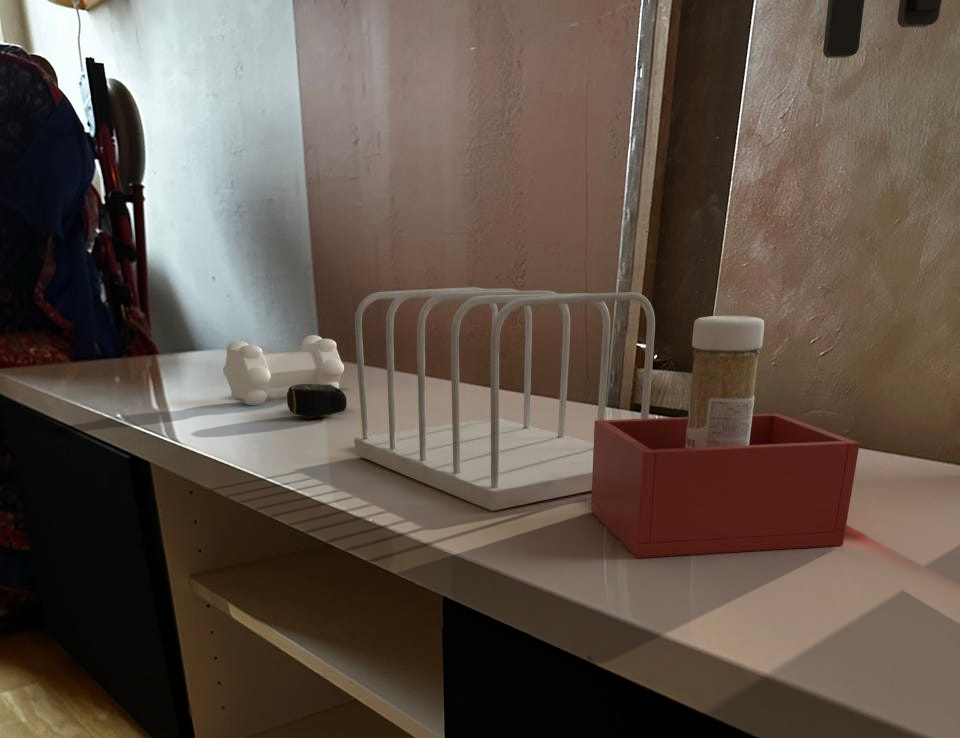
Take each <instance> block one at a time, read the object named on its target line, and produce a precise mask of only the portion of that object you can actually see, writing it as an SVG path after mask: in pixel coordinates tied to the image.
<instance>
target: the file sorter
mask: <svg viewBox="0 0 960 738" xmlns="http://www.w3.org/2000/svg"><path fill="white" fill-rule="evenodd" d="M415 298H429V299H427V300H426V302H425V303H424V304H423V306H422V308H421V309H420V311H419V314H418V318H417V322H416V323H417V324H416V358H417V360H416V361H417V397H418V398H417V402H418V403H417V404H418V405H417V406H418V428H412V429H406V430H399V431H397V421H396V420H397V418H396V391H395V390H396V388H395V386H396V385H395V383H396V382H395V351H394V350H395V349H394V320H395V315H396V312H397V311H398V308H399V307H400V305H402V304H403V302H405V301H407V300H409V299H415ZM386 299H393V300H392V302H391V303H390V305H389V307H388V309H387V313H386V317H385V319H386V320H385V322H386V323H385V339H386V340H385V342H386V346H385V347H386V371H387V372H386V373H387V377H386V378H387V405H388V409H387V410H388V431H389V432H385V433H384V432H383V433H378V434H370V435H369V417H368V403H367V402H368V401H367V390H366V389H367V388H366V375H365V374H366V372H365V360H364V358H365V357H364V342H363V326H362V323H363V315H364V312H365V310H366V309H367V308H368V306H369V305H370V304H372V303H373V302H375V301H378V300H386ZM461 300H462V301H463V300H465V301H464V302H463V303H462V304H461V305H460V306H459V307H458V309H457V310H456V312H455V314H454V316H453V319H452V323H451V328H450V330H451V331H450V362H451V363H450V370H451V372H450V373H451V378H450V379H451V380H450V381H451V382H450V383H451V423H449V424H442V425H433V426H428V427H427V425H426V424H427V419H426V417H427V416H426V406H427V405H426V351H425V350H426V349H425V348H426V347H425V346H426V334H425V333H426V322H427V321H426V320H427V317H428V315H429V314H430V313H429V312H430V311H431V310H432V309H433V307H435V305H437V304H438V303H440V302H444V301H461ZM617 301H618V302H619V301H620V302H621V301H635V302H636V303H638V304H639V305H640V306H641V307H642V309H643V310H644V313H645V318H646V335H645V336H646V337H645V352H644V366H643V382H642V394H641V395H642V396H641V408H640V419H648V418H649V415H650V405H651V404H650V403H651V389H652V377H653V364H654V363H653V362H654V348H655V335H656V334H655V332H656V317H655V312H654V308H653V306H652V304H651V302H650V300H649V299H648V298H647V297H646V296H645V295H643V294H642V293H640V292H639V293H638V292H635V291H632V292H631V291H630V292H629V291H627V292H603V293H588V292H587V293H580V292H579V293H576V292H575V293H557V292H555V291H552V290H518V289H515V288H481V287H453V288H431V289H412V290H395V291H394V290H393V291H379V292H373V293H370V294H369V295H367V296H366V297H365V298H364V299H362V300H361V301H360V303H359V305H358V306H357V309H356V312H355V316H354V331H355V332H354V333H355V334H354V335H355V346H356V347H355V348H356V349H355V350H356V363H357V366H356V367H357V377H358V378H357V379H358V393H359V406H360V408H359V409H360V419H361V420H360V421H361V433H362V436H358V437H355V438H354V439H353V441H354V442H353V443H354V455H356V456H359V457H361V458H363V459H366V460H368V461H370V462H373V463H375V464H378V465H380V466H383V467H385V468H387V469H389V470H392V471H394V472H397V473H399V474H401V475H404V476H406V477H409V478H411V479H413V480H416V481H418V482H421V483H423V484H425V485H428V486H430V487H432V488H435V489H437V490H440V491H442V492H445V493H447V494H450V495H453V496H455V497H457V498H460V499H462V500H465V501H467V502H469V503H472V504H474V505H477V506H479V507H481V508H484V509H487V510H490V511H492V512H493V511H498V510H505V509H508V508H514V507H519V506H525V505H528V504H532V503H537V502H543V501H546V500H551V499H556V498H562V497H566V496H572V495H576V494H581V493H586V492H592V473H593V449H594V442H592V441H588V440H584V439H581V438H577V437H574V436H569V435H566V434H565V432H566V431H565V429H566V416H567V415H566V413H567V396H568V394H567V393H568V376H569V362H570V361H569V360H570V344H571V343H570V342H571V341H570V339H571V337H570V336H571V314H570V309H569V306H568V304H579V303H580V304H581V303H592V304H594V305H595V306H596V307H597V308H598V309H599V312H600V314H601V317H602V338H601V357H600V374H599V386H598V387H599V388H598V389H599V390H598V405H597V415H596V416H597V418H596V421H598V420H605V417H606V416H605V415H606V404H607V403H606V401H607V387H608V372H609V357H610V341H611V315H610V311H609V309H608V306H607V304H606V302H617ZM497 304H505V305H504V306H502V308H500V310H499V311H498V305H497ZM479 305H489V306H490V310H491V332H490V418H485V419H478V420H470V421H469V420H468V421H463V422H461V416H460V415H461V413H460V412H461V409H460V408H461V407H460V403H461V402H460V354H459V353H460V350H459V344H460V343H459V336H460V328H461V327H460V326H461V322H462V320H463V318H464V316H465V315H466V313H467V312H468V311H469V310H471V309H472V308H474V307H476V306H479ZM547 305H548V306H549V305H558V306H559V308H560V310H561V313H562V325H563V326H562V345H561V346H562V347H561V366H560V367H561V368H560V387H559V404H558V427H557V432H554V431H550V430H548V429H543V428H539V427H536V426H531V425H530V424H531V423H530V422H531V389H532V384H531V383H532V382H531V381H532V345H533V344H532V343H533V342H532V341H533V340H532V339H533V336H532V335H533V319H532V318H533V317H532V316H533V314H532V309H531V307H534V306H547ZM522 307H523V310H524V317H525V318H524V321H525V326H524V327H525V329H524V330H525V336H524V375H523V377H524V378H523V379H524V381H523V382H524V385H523V387H524V388H523V423H521V422H516V421H513V420H508V419H503V418H501V417H500V336H501V331H502V326H503V324H504V321H505V320H506V318H507V317H508V316H509V315H510V314H511V313H512V312H513V311H515V310H516V309H518V308H519V309H520V308H522Z"/></svg>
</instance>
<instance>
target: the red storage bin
mask: <svg viewBox="0 0 960 738" xmlns="http://www.w3.org/2000/svg"><path fill="white" fill-rule="evenodd" d="M687 420H688V416H675V417H674V416H673V417H653V418H652V417H651V418H649V417H648V419H641V418H630V419H629V418H627V419H626V418H625V419H606V420H605V419H604V420H598V421H597V420H594V425H593V426H594V427H593V428H594V429H593V443H594V449H593V473H592V490H591V501H590V502H591V503H590V512H591V513H592V514H593V515H594V516H595V517H596V518H597V519H598V520H599V521H600V522H601V523H602V524H603V525H604V526H605V527H606V528H607V529H608V530H609V531H610V532H611V533H612V534H613V535H614V536H615V537H616V538H617V539H618V540H619V541H620V542H621V543H622V545H624V547H626V548H627V549H628V551H629V552H630V553H631V554H632V555H633V556H635V558H637V559H645V558H660V557H677V556H692V555H693V556H694V555H709V554H724V553H740V552H758V551H773V550H775V551H777V550H791V549H807V548H821V547H822V548H823V547H837V546H838V547H839V546H843V545H844V539H845V534H846V533H845V532H846V528H847V522H848V517H849V510H850V504H851V499H852V492H853V487H854V486H853V485H854V480H855V474H856V468H857V462H858V455H859V449H860V445H861V444H860V442H858V441H855V440H853V439H850V438H847V437H844V436H843V435H839V434H836V433H834V432H831V431H828V430H825V429H823V428H819V427H817V426H814V425H812V424H809V423H806V422H803V421H801V420H797V419H795V418H792V417H789V416H787V415H784V414H781V413H777V412H776V413H775V412H774V413H753V415H752V424H751V432H750V440H749V445H744V446H722V447H699V448H685V443H686V431H687Z"/></svg>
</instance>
